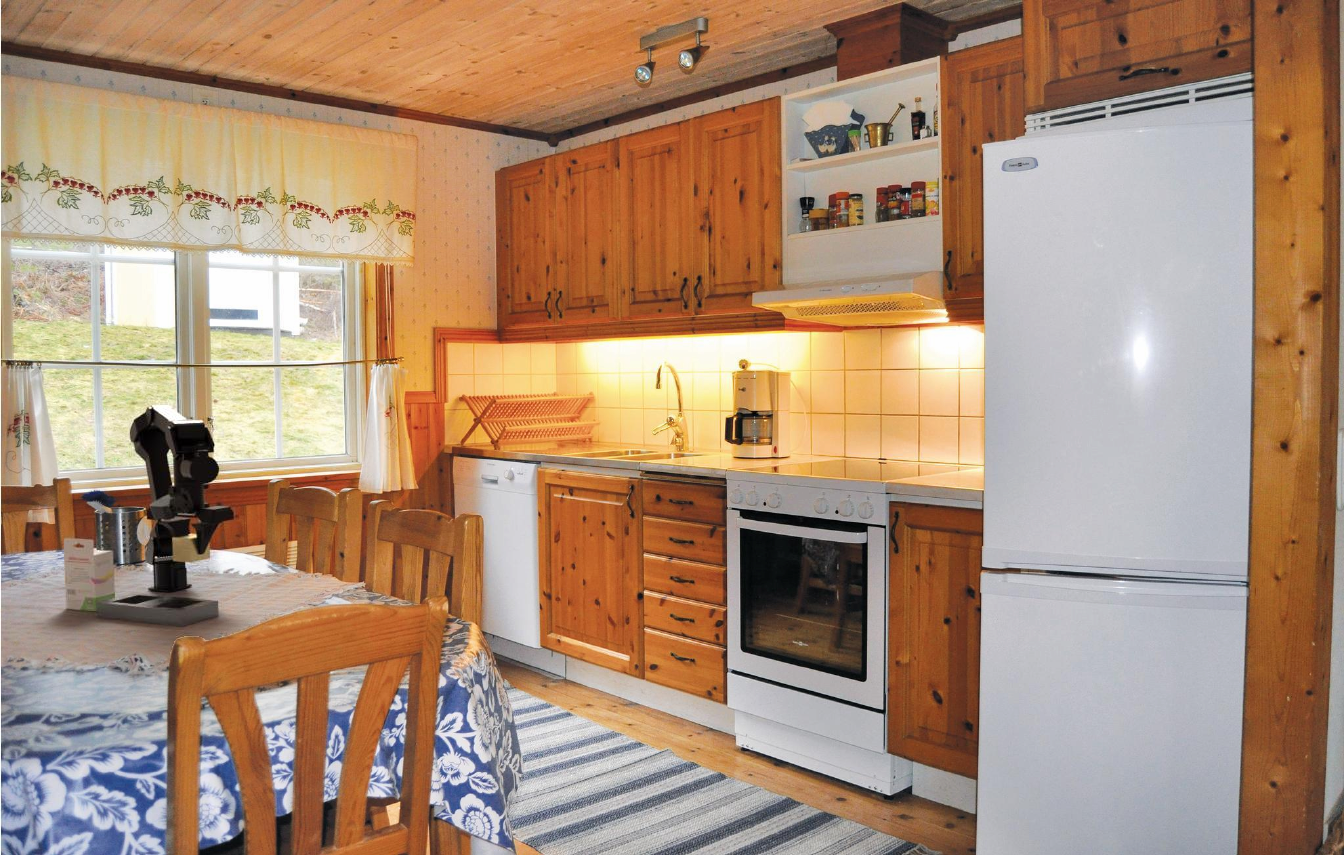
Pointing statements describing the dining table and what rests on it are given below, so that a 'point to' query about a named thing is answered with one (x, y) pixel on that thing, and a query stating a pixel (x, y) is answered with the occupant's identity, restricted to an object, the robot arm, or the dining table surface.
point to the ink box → (87, 575)
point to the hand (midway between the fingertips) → (191, 553)
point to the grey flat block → (158, 609)
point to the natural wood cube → (188, 549)
